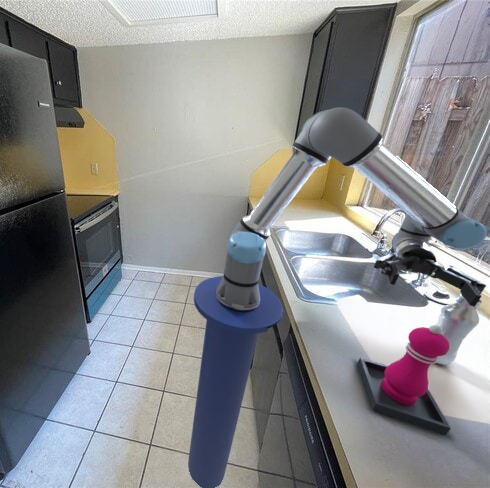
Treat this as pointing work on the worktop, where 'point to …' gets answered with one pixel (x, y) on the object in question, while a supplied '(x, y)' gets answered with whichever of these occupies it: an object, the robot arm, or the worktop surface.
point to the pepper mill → (414, 365)
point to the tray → (418, 413)
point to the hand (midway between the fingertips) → (432, 289)
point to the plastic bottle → (456, 325)
